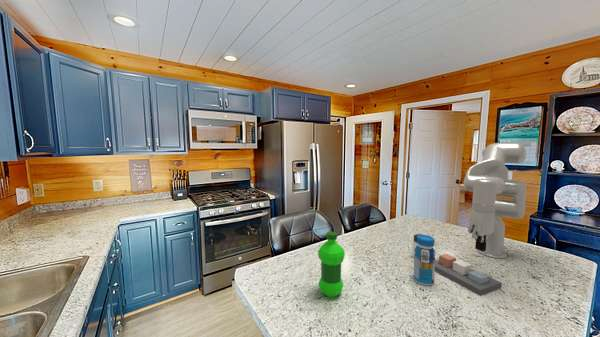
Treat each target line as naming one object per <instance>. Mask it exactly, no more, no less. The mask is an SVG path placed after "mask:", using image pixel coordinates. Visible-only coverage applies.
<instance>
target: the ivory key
mask: <svg viewBox="0 0 600 337" xmlns="http://www.w3.org/2000/svg"><path fill="white" fill-rule="evenodd" d="M471 269H472V264H470V263H469V262H466V261H464V260H461V259H458V260H456V261H454V262H453V271H455V272H457V273H458V274H460V275H462V276H465V275H467V274H469V272H471Z"/></svg>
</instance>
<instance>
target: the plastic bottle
mask: <svg viewBox="0 0 600 337" xmlns="http://www.w3.org/2000/svg"><path fill="white" fill-rule="evenodd" d="M325 238H326V239H327V241H325V242H324V243H323V244H321V245H320V247H319V249H318V253H317V255H318V259H319V260H320V261H321V263H320V264H321V265H320V270H321V272H320V279H319V281H318V287H319V289H320V291H321V292H322V293H323V294H324V296H327V297H328V296H329V297H328V298H335V297H337V296H339V295H340V294H341V293H342V291H343V288H344V281H343V280H342V263H343V262H344V259H345V253H346V252H345V249H344V248H343V247H342V246H341V245H340V244H339V243H338V242H337V239H338V233H337V232H336V231H326V236H325ZM336 295H337V296H336ZM334 296H335V297H334Z"/></svg>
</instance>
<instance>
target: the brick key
mask: <svg viewBox="0 0 600 337" xmlns="http://www.w3.org/2000/svg"><path fill="white" fill-rule="evenodd" d="M438 260H439V264H441V265H443V266H444V267H446V268H448V269H450V267H453V262H454V261H457V257H455V256H452V255H450V254H448V253H443V254H439V255H438Z"/></svg>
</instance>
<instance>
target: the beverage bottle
mask: <svg viewBox="0 0 600 337" xmlns="http://www.w3.org/2000/svg"><path fill="white" fill-rule="evenodd" d="M417 244H418V245H417V246H416V248H415V254H414V259H413V276H412V278H413V280H414V281H415V282H416V283H417V284H420V285H423V286H433V285H434V284H435V273H436V272H435V262H436V260H437V258H436V255H437V254H436V250H435V249H434V246H435V238H434V237H433V236H430V235H427V234H422V235H418V236H417Z"/></svg>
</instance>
